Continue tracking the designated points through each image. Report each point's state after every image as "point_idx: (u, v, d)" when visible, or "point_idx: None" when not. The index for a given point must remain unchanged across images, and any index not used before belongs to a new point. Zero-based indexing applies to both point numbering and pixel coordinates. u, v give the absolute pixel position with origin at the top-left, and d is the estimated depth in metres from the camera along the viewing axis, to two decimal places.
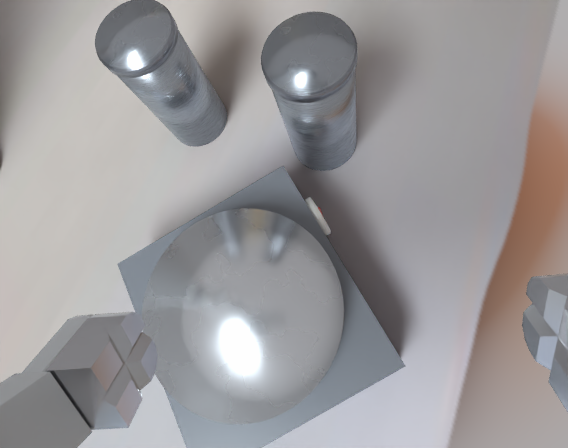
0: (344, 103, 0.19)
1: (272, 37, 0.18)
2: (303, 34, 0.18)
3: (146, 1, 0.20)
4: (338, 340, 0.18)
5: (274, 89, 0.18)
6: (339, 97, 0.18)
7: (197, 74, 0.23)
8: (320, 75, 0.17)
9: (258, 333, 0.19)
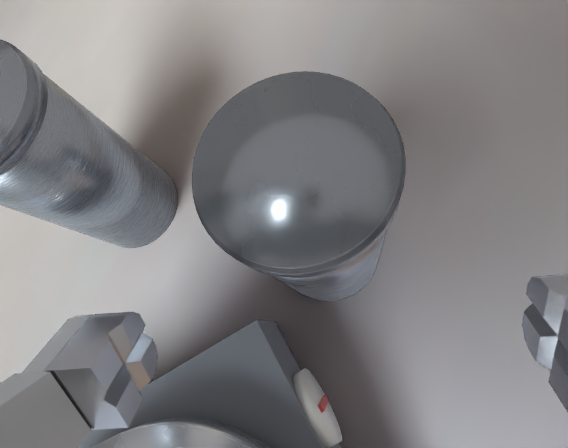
0: (371, 252, 0.09)
1: (216, 127, 0.08)
2: (282, 123, 0.08)
3: None
4: None
5: None
6: (362, 254, 0.08)
7: (107, 159, 0.13)
8: (321, 229, 0.07)
9: None
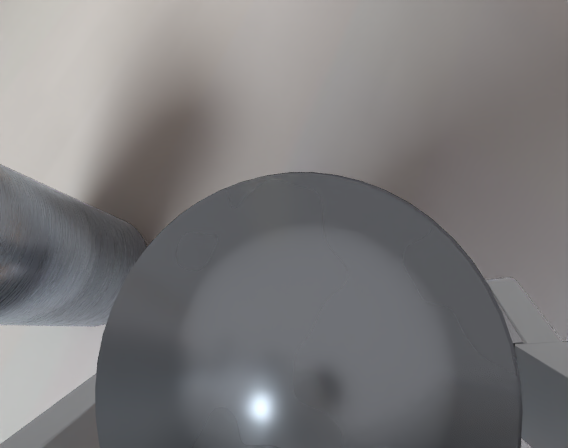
0: None
1: (145, 275, 0.04)
2: (267, 279, 0.04)
3: None
4: None
5: None
6: None
7: (33, 243, 0.09)
8: None
9: None
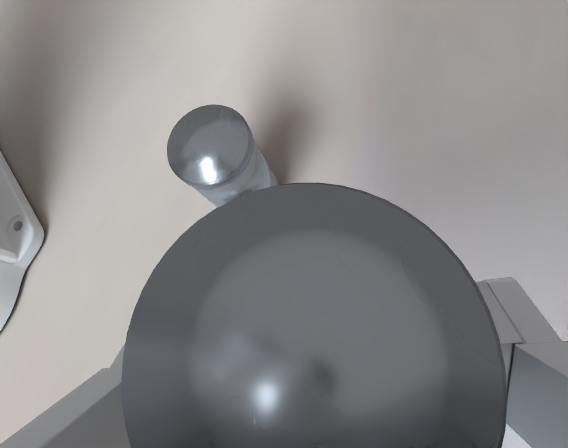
0: None
1: (166, 277, 0.05)
2: (278, 281, 0.05)
3: (220, 108, 0.19)
4: None
5: None
6: None
7: (265, 171, 0.22)
8: None
9: None
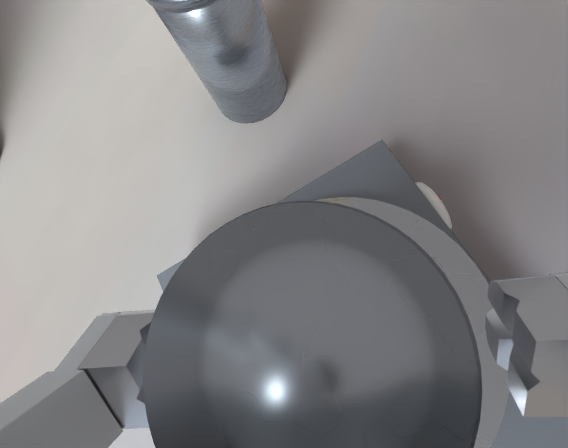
0: None
1: (181, 285, 0.05)
2: (282, 290, 0.05)
3: None
4: (506, 392, 0.12)
5: None
6: None
7: (263, 18, 0.17)
8: None
9: None
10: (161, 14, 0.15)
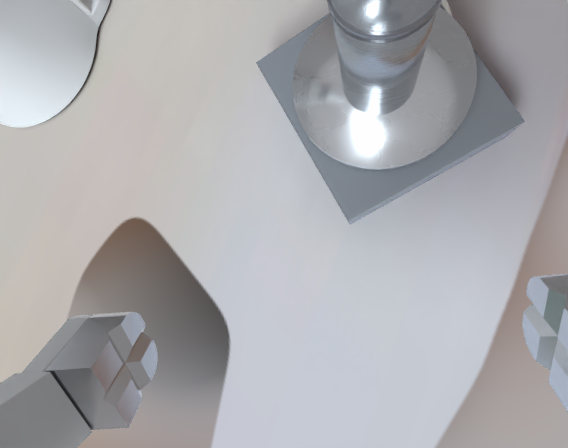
0: (422, 40, 0.16)
1: None
2: None
3: None
4: (472, 96, 0.22)
5: (342, 26, 0.15)
6: (419, 34, 0.15)
7: None
8: (402, 8, 0.14)
9: None
10: None
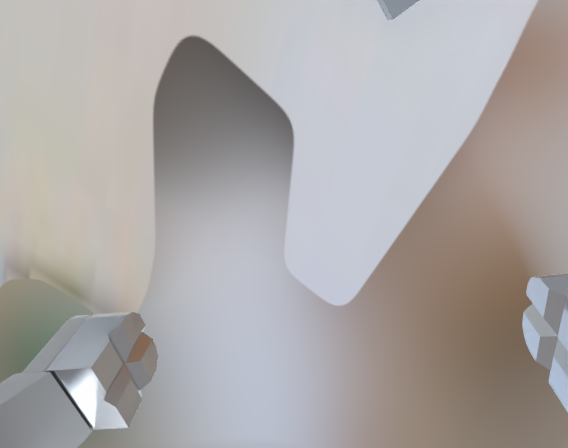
0: None
1: None
2: None
3: None
4: None
5: None
6: None
7: None
8: None
9: None
10: None
